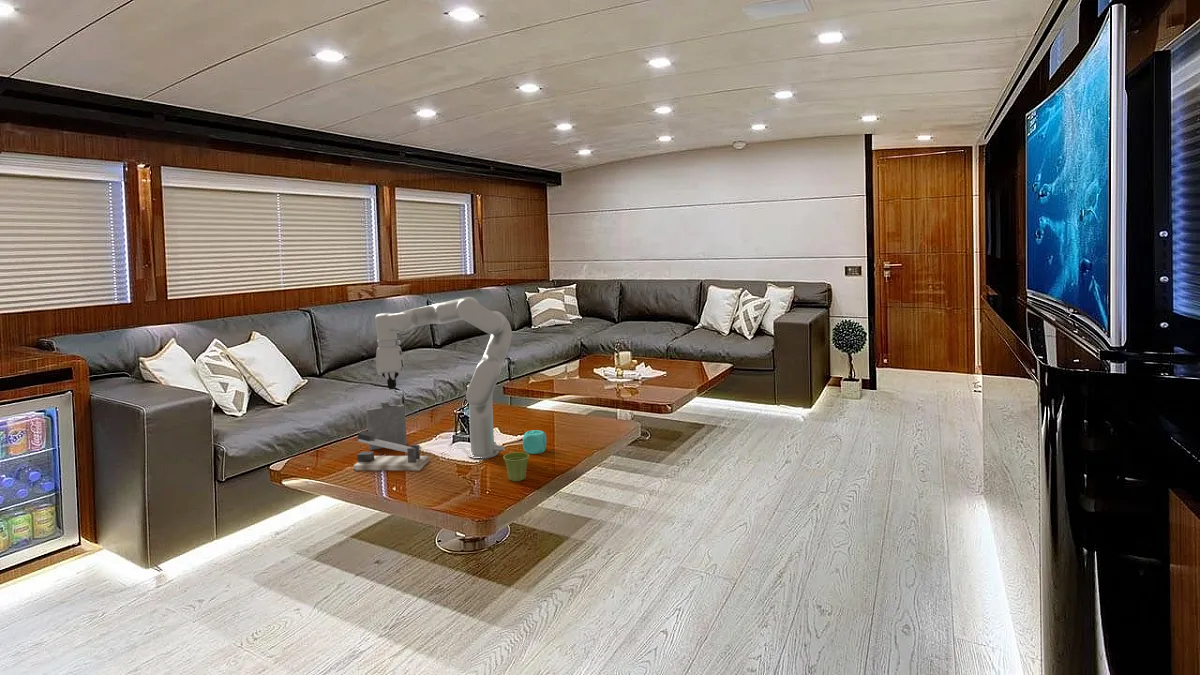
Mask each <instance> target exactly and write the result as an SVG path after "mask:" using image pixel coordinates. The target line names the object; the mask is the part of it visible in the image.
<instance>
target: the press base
mask: <svg viewBox="0 0 1200 675" xmlns="http://www.w3.org/2000/svg"><path fill="white" fill-rule="evenodd" d="M410 447H414V448H408V449H407V452H408V453H407V452H406V453H407V455H375V451H360V452H359V453H358V454H357V455H356V456H357V462H356V463H355V464H353V470H354V469H356V470H355V471H420V470H421V469H423V468H424V466H425V465H427V463H429V461H430V455H421V453H420V452H421V450H420V444H411V445H410Z"/></svg>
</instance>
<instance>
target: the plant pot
mask: <svg viewBox="0 0 1200 675" xmlns="http://www.w3.org/2000/svg"><path fill="white" fill-rule="evenodd" d="M529 458H530V454H529V453H526V452H523V451H522V452H521V451H519V452H518V451H515V452H510V453H506V454H504V455H503V460H504V462H505V465H506V471H507V476H508V480H510V481H512V482H520V481H522V480H523V481H524V480H525V479H526V476H527V466H528V460H529Z"/></svg>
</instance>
